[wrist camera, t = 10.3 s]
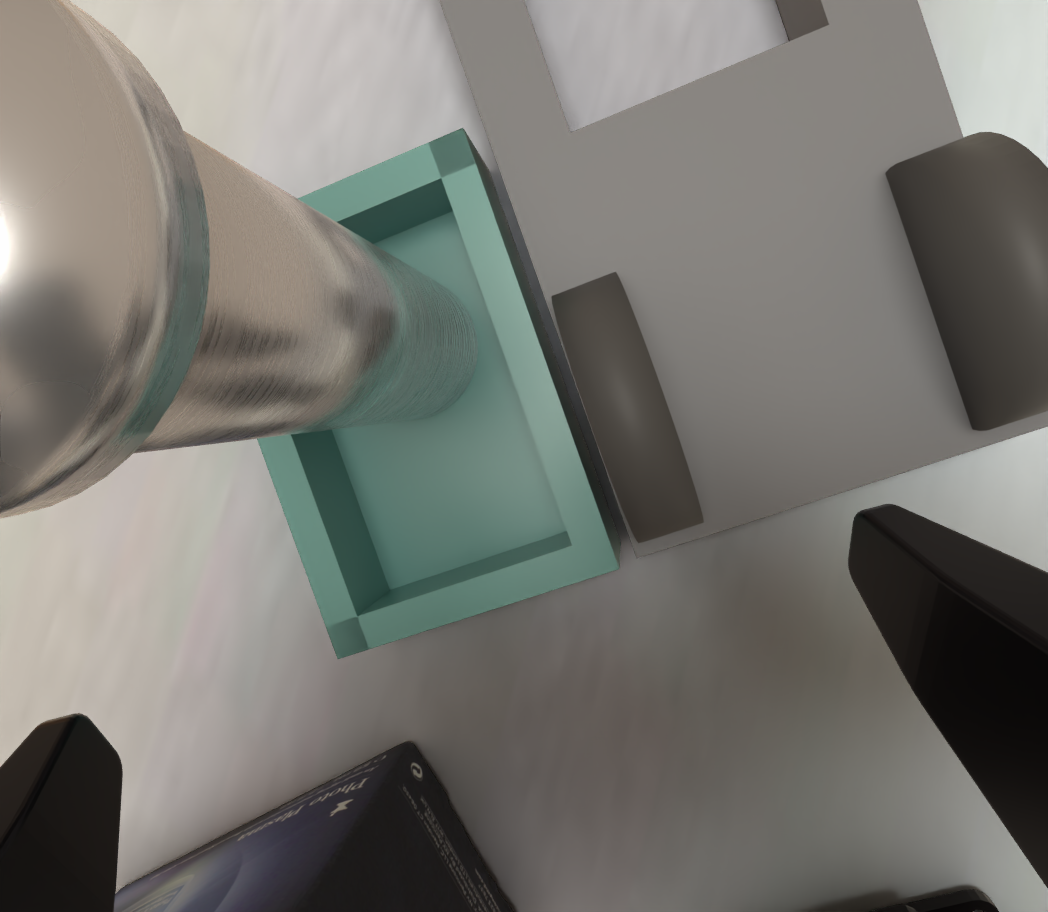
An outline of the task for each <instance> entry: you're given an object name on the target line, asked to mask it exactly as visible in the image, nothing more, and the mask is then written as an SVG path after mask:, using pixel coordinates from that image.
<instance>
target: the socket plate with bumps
mask: <svg viewBox="0 0 1048 912" xmlns="http://www.w3.org/2000/svg"><path fill="white" fill-rule="evenodd" d="M439 1H440V3H441V6H442V9H443V12H444V15H445V18H446V20H447V23H448V26H449V29H450V32H451V35H452V37H453V40H454V43H455V46H456V49H457V52H458V54H459V57H460V60H461V63H462V66H463V68H464V71H465V74H466V77H467V80H468V83H469V85H470V88H471V91H472V94H473V97H474V100H475V102H476V105H477V108H478V111H479V114H480V117H481V119H482V122H483V125H484V128H485V131H486V134H487V136H488V139H489V142H490V145H491V148H492V150H493V153H494V156H495V159H496V162H497V165H498V167H499V170H500V173H501V176H502V179H503V182H504V184H505V187H506V190H507V193H508V196H509V199H510V201H511V204H512V207H513V210H514V213H515V216H516V218H517V221H518V224H519V227H520V230H521V233H522V235H523V238H524V241H525V244H526V247H527V249H528V252H529V255H530V258H531V261H532V264H533V266H534V269H535V272H536V275H537V278H538V281H539V283H540V286H541V289H542V292H543V295H544V298H545V300H546V303H547V306H548V309H549V312H550V315H551V317H552V320H553V323H554V326H555V329H556V331H557V334H558V337H559V340H560V343H561V346H562V348H563V351H564V354H565V357H566V360H567V363H568V365H569V368H570V371H571V374H572V377H573V380H574V382H575V385H576V388H577V391H578V394H579V397H580V399H581V402H582V405H583V408H584V411H585V413H586V416H587V419H588V422H589V425H590V428H591V430H592V433H593V436H594V439H595V442H596V445H597V447H598V450H599V453H600V456H601V459H602V462H603V464H604V467H605V470H606V473H607V476H608V479H609V481H610V484H611V487H612V490H613V493H614V495H615V498H616V501H617V504H618V507H619V510H620V512H621V515H622V518H623V521H624V524H625V527H626V529H627V532H628V535H629V538H630V541H631V544H632V546H633V549H634V552H635V555H636V558H640V557H643V556H646V555H649V554H652V553H655V552H658V551H662V550H665V549H668V548H671V547H674V546H677V545H680V544H683V543H686V542H690V541H693V540H696V539H699V538H702V537H705V536H708V535H711V534H714V533H718V532H721V531H724V530H727V529H730V528H733V527H736V526H739V525H742V524H746V523H749V522H752V521H755V520H758V519H761V518H764V517H767V516H770V515H774V514H777V513H780V512H783V511H786V510H789V509H792V508H795V507H798V506H801V505H805V504H808V503H811V502H814V501H817V500H820V499H823V498H826V497H829V496H833V495H836V494H839V493H842V492H845V491H848V490H851V489H854V488H857V487H861V486H864V485H867V484H870V483H873V482H876V481H879V480H882V479H885V478H889V477H892V476H895V475H898V474H901V473H904V472H907V471H910V470H913V469H917V468H920V467H923V466H926V465H929V464H932V463H935V462H938V461H941V460H945V459H948V458H951V457H954V456H957V455H960V454H963V453H966V452H969V451H973V450H976V449H979V448H982V447H985V446H988V445H991V444H994V443H997V442H1001V441H1004V440H1007V439H1010V438H1013V437H1016V436H1019V435H1022V434H1025V433H1028V432H1032V431H1035V430H1038V429H1041V428H1044V427H1047V426H1048V168H1047V167H1046V166H1045V165H1044V164H1043V162H1042V161H1041V160H1040V159H1039V158H1038V157H1037V156H1036V155H1034V154H1033V153H1032V152H1031V151H1030V150H1029V149H1027V148H1026V147H1025V146H1023V145H1022V144H1020V143H1018V142H1017V141H1015V140H1014V139H1011V138H1009V137H1007V136H1004V135H1002V134H997V133H992V132H979V133H976V134H973V135H969V136H967V137H964V138H963V135H962V132H961V129H960V126H959V123H958V120H957V117H956V114H955V111H954V108H953V105H952V102H951V99H950V96H949V93H948V90H947V87H946V84H945V81H944V78H943V75H942V72H941V69H940V66H939V63H938V60H937V57H936V54H935V52H934V49H933V46H932V43H931V40H930V37H929V34H928V31H927V28H926V25H925V22H924V19H923V16H922V13H921V10H920V7H919V4H918V1H917V0H776V3H777V6H778V9H779V11H780V14H781V17H782V20H783V23H784V26H785V29H786V32H787V35H788V38H789V42H787V43H784V44H782V45H779V46H777V47H775V48H772V49H770V50H767V51H765V52H763V53H760V54H758V55H755V56H753V57H751V58H748V59H746V60H744V61H741V62H739V63H736V64H734V65H732V66H729V67H727V68H724V69H722V70H720V71H717V72H715V73H712V74H710V75H708V76H705V77H703V78H700V79H698V80H696V81H693V82H691V83H688V84H686V85H684V86H681V87H679V88H677V89H674V90H672V91H669V92H667V93H665V94H662V95H660V96H657V97H655V98H653V99H650V100H648V101H645V102H643V103H641V104H638V105H636V106H633V107H631V108H629V109H626V110H624V111H622V112H619V113H617V114H614V115H612V116H610V117H607V118H605V119H602V120H600V121H598V122H595V123H593V124H590V125H588V126H586V127H583V128H581V129H578V130H576V131H574V132H571V133H570V130H569V128H568V125H567V122H566V119H565V116H564V113H563V111H562V108H561V105H560V102H559V99H558V96H557V93H556V91H555V88H554V85H553V82H552V79H551V76H550V73H549V71H548V68H547V65H546V62H545V59H544V56H543V53H542V51H541V48H540V45H539V42H538V39H537V36H536V33H535V31H534V28H533V25H532V22H531V19H530V16H529V14H528V11H527V8H526V5H525V2H524V0H439Z"/></svg>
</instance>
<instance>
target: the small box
mask: <svg viewBox="0 0 1048 912" xmlns="http://www.w3.org/2000/svg"><path fill="white" fill-rule="evenodd" d="M114 912H513V911H512V909H511V908H510V907H509V905H508V903H507V902H506V901H505V900H504V899H503V898H502V896H501V895H500V893H499V891H498V890H497V884H496V883H495V882H494V881H493V880H492V879H491V877H490V875H489V874H488V872H487V870H486V868H485V867H484V865H483V863H482V861H481V860H480V858H479V856H478V854H477V852H476V851H475V849H474V848H473V846H472V844H471V842H470V840H469V839H468V837H467V835H466V833H465V831H464V829H463V826H462V825H461V823H460V822H459V820H458V819H457V817H456V815H455V814H454V812H453V810H452V808H451V806H450V805H449V803H448V797H447V794H446V792H445V791H444V790H443V789H442V787H441V785H440V784H439V782H438V781H437V780H436V778H435V776H434V775H433V773H432V772H431V771H430V769H429V767H428V765H427V764H426V763H425V762H424V760H423V759H422V757H421V755H420V753H419V751H418V750H417V748H416V747H415V745H414V744H413V743H411V742H406V743H403V744H401V745H399V746H397V747H394V748H392V749H390V750H388V751H386V752H385V753H383V754H381V755H379V756H377V757H375V758H373V759H371V760H369V761H367V762H365V763H363V764H361V765H359V766H358V767H356V768H354V769H352V770H350V771H348V772H346V773H344V774H342V775H340V776H338V777H336V778H335V779H333V780H331V781H329V782H327V783H325V784H323V785H321V786H319V787H317V788H315V789H313V790H311V791H309V792H307V793H305V794H303V795H301V796H299V797H297V798H295V799H294V800H292V801H290V802H288V803H286V804H284V805H282V806H280V807H278V808H276V809H274V810H272V811H270V812H268V813H266V814H264V815H262V816H261V817H259V818H257V819H255V820H253V821H251V822H249V823H247V824H245V825H243V826H241V827H239V828H237V829H235V830H233V831H231V832H229V833H228V834H225V835H223V836H222V837H220V838H218V839H216V840H214V841H212V842H210V843H208V844H206V845H204V846H202V847H200V848H199V849H197V850H195V851H193V852H191V853H189V854H187V855H185V856H183V857H181V858H179V859H177V860H175V861H173V862H171V863H169V864H167V865H165V866H163V867H161V868H159V869H158V870H156V871H154V872H152V873H150V874H148V875H147V876H145V877H143V878H141V879H138V880H136V881H135V882H133V883H131V884H129V885H127V886H125V887H123V888H121V889H120V890H119V891H118V892H117V893H116V894H115V902H114Z"/></svg>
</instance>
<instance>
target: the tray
mask: <svg viewBox="0 0 1048 912" xmlns="http://www.w3.org/2000/svg"><path fill="white" fill-rule="evenodd" d="M298 199H299V200H300V201H302V202H304V203H305V204H307V205H309V206H310V207H312V208H314V209H315V210H317V211H319V212H320V213H322V214H324V215H325V216H327V217H329V218H330V219H332V220H334V221H335V222H337V223H339V224H340V225H342V226H344V227H345V228H347V229H349V230H350V231H352V232H354V233H355V234H357V235H359V236H360V237H362V238H364V239H365V240H367V241H369V242H370V243H372V244H374V245H375V246H377V247H379V248H381V249H382V250H384V251H386V252H387V253H389V254H391V255H392V256H394V257H396V258H397V259H399V260H401V261H402V262H404V263H406V264H407V265H409V266H411V267H412V268H414V269H416V270H417V271H419V272H421V273H422V274H424V275H426V276H427V277H429V278H431V279H432V280H434V281H436V282H437V283H439V284H441V285H442V286H444V287H446V288H447V289H448V290H450V291H451V292H452V293H454V294H455V295H456V296H457V298H458V299H459V300H460V301H461V302H462V303H463V305H464V306H465V307H466V309H467V311H468V313H469V314H470V316H471V319H472V321H473V323H474V327H475V330H476V334H477V342H478V355H477V363H476V366H475V370H474V373H473V376H472V378H471V381H470V382H469V384H468V386H467V388H466V389H465V391H464V392H463V393H462V395H461V396H460V397H459V398H458V399H457V400H456V401H455V402H454V403H453V404H452V405H450V406H449V407H448V408H446V409H445V410H443V411H441V412H440V413H438V414H435V415H433V416H430V417H427V418H423V419H417V420H409V421H400V422H392V423H384V424H375V425H367V426H358V427H350V428H342V429H333V430H325V431H316V432H308V433H300V434H291V435H283V436H274V437H266V438H258V439H257V440H258V443H259V445H260V448H261V451H262V454H263V456H264V459H265V462H266V464H267V467H268V470H269V473H270V475H271V478H272V481H273V484H274V486H275V489H276V492H277V495H278V497H279V500H280V503H281V505H282V508H283V511H284V514H285V516H286V519H287V522H288V525H289V527H290V530H291V533H292V535H293V538H294V541H295V544H296V546H297V549H298V552H299V555H300V557H301V560H302V563H303V566H304V568H305V571H306V574H307V576H308V579H309V582H310V585H311V587H312V590H313V593H314V596H315V598H316V601H317V604H318V607H319V609H320V612H321V615H322V617H323V620H324V623H325V626H326V628H327V631H328V634H329V637H330V639H331V642H332V645H333V648H334V650H335V653H336V656H337V658H338V659H340V658H343V657H346V656H350V655H353V654H356V653H359V652H362V651H365V650H368V649H371V648H374V647H378V646H381V645H384V644H387V643H390V642H393V641H396V640H399V639H403V638H406V637H409V636H412V635H415V634H418V633H421V632H424V631H428V630H431V629H434V628H437V627H440V626H443V625H446V624H449V623H452V622H456V621H459V620H462V619H465V618H468V617H471V616H474V615H477V614H481V613H484V612H487V611H490V610H493V609H496V608H499V607H502V606H505V605H509V604H512V603H515V602H518V601H521V600H524V599H527V598H530V597H534V596H537V595H540V594H543V593H546V592H549V591H552V590H555V589H559V588H562V587H565V586H568V585H571V584H574V583H577V582H580V581H583V580H587V579H590V578H593V577H596V576H599V575H602V574H605V573H608V572H612V571H615V570H618V569H619V566H620V548H621V542H620V539H619V536H618V534H617V531H616V528H615V525H614V522H613V519H612V517H611V514H610V511H609V508H608V505H607V502H606V500H605V497H604V494H603V491H602V488H601V485H600V483H599V480H598V477H597V474H596V471H595V469H594V466H593V463H592V460H591V457H590V454H589V452H588V449H587V446H586V443H585V440H584V437H583V435H582V432H581V429H580V426H579V423H578V421H577V418H576V415H575V412H574V409H573V406H572V404H571V401H570V398H569V395H568V392H567V389H566V387H565V384H564V381H563V378H562V375H561V372H560V370H559V367H558V364H557V361H556V358H555V356H554V353H553V350H552V347H551V344H550V341H549V339H548V336H547V333H546V330H545V327H544V324H543V322H542V319H541V316H540V313H539V310H538V308H537V305H536V302H535V299H534V296H533V293H532V291H531V288H530V285H529V282H528V279H527V276H526V274H525V271H524V268H523V265H522V262H521V260H520V257H519V254H518V251H517V248H516V245H515V243H514V240H513V237H512V234H511V231H510V228H509V226H508V223H507V220H506V217H505V214H504V211H503V209H502V206H501V203H500V200H499V197H498V195H497V192H496V189H495V186H494V183H493V180H492V178H491V175H490V172H489V169H488V168H487V166H486V164H485V163H484V161H483V160H482V158H481V156H480V155H479V153H478V151H477V150H476V148H475V147H474V145H473V143H472V142H471V140H470V138H469V137H468V135H467V134H466V132H465V130H464V129H463V128H461V129H459V130H457V131H454V132H452V133H450V134H447V135H445V136H443V137H440V138H438V139H436V140H433V141H431V142H429V143H426V144H424V145H422V146H419V147H417V148H415V149H412V150H410V151H408V152H405V153H403V154H401V155H398V156H396V157H394V158H391V159H389V160H387V161H384V162H382V163H380V164H377V165H375V166H373V167H370V168H368V169H366V170H363V171H361V172H359V173H356V174H354V175H352V176H349V177H347V178H345V179H342V180H340V181H338V182H335V183H333V184H331V185H328V186H326V187H324V188H321V189H319V190H317V191H314V192H312V193H310V194H308V195H305V196H303V197H301V198H298Z"/></svg>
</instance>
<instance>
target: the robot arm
mask: <svg viewBox="0 0 1048 912" xmlns="http://www.w3.org/2000/svg"><path fill="white" fill-rule="evenodd" d="M848 566H849V571H850V575H851V577H852V580H853V582H854V584H855V586H856V588H857V589H858V591H859V593H860V595H861V597H862V599H863V601H864V602H865V604H866V606H867V608H868V610H869V612H870V614H871V615H872V617H873V619H874V621H875V623H876V625H877V627H878V628H879V630H880V632H881V634H882V636H883V638H884V640H885V641H886V643H887V645H888V647H889V649H890V651H891V653H892V654H893V656H894V658H895V660H896V662H897V664H898V666H899V667H900V669H901V671H902V673H903V675H904V676H905V678H906V680H907V682H908V683H909V685H910V687H911V689H912V690H913V692H914V693H915V695H916V697H917V698H918V700H919V701H920V703H921V704H922V706H923V707H924V709H925V710H926V712H927V713H928V715H929V716H930V718H931V719H932V721H933V722H934V723H935V725H936V726H937V728H938V729H939V731H940V732H941V734H942V735H943V737H944V738H945V739H946V741H947V742H948V744H949V745H950V747H951V748H952V750H953V751H954V753H955V754H956V755H957V757H958V758H959V760H960V761H961V763H962V764H963V766H964V767H965V769H966V770H967V772H968V773H969V774H970V776H971V777H972V779H973V780H974V782H975V783H976V785H977V786H978V788H979V789H980V790H981V792H982V793H983V795H984V796H985V798H986V799H987V801H988V802H989V804H990V805H991V807H992V808H993V809H994V811H995V812H996V814H997V815H998V817H999V818H1000V820H1001V821H1002V823H1003V824H1004V825H1005V827H1006V828H1007V830H1008V831H1009V833H1010V834H1011V836H1012V837H1013V839H1014V840H1015V841H1016V843H1017V844H1018V846H1019V847H1020V849H1021V850H1022V852H1023V853H1024V855H1025V856H1026V858H1027V859H1028V860H1029V862H1030V863H1031V865H1032V866H1033V868H1034V869H1035V871H1036V872H1037V874H1038V875H1039V876H1040V878H1041V879H1042V881H1043V882H1044V884H1045V885H1046V887H1047V888H1048V572H1046V571H1043V570H1041V569H1039V568H1037V567H1034V566H1032V565H1030V564H1028V563H1025V562H1023V561H1021V560H1019V559H1016V558H1014V557H1012V556H1010V555H1007V554H1005V553H1003V552H1001V551H998V550H996V549H994V548H992V547H989V546H987V545H985V544H983V543H980V542H978V541H976V540H974V539H971V538H969V537H967V536H965V535H962V534H960V533H958V532H956V531H953V530H951V529H949V528H946V527H944V526H942V525H940V524H937V523H935V522H933V521H931V520H928V519H926V518H924V517H922V516H919V515H917V514H915V513H913V512H910V511H908V510H906V509H904V508H901V507H899V506H896V505H893V504H885V505H881V506H877V507H873V508H869V509H865V510H861V511H860V512H858V513H857V514H856V516H855V517H854V521H853V527H852V534H851V542H850V549H849V557H848ZM122 777H123V771H122V764H121V760H120V757H119V755H118V753H117V752H116V750H115V749H114V748H113V747H112V745H111V744H110V743H109V742H108V741H107V739H106V738H105V737H104V736H103V734H102V733H101V732H100V731H99V730H98V728H97V727H96V726H95V725H94V724H93V722H92V721H91V720H90V719H89V718H88V717H87V716H85V715H83V714H80V713H78V714H71V715H67V716H63V717H59V718H56V719H52V720H48V721H45V722H43V723H41V724H40V725H38V726H37V727H36V728H35V729H34V730H33V731H32V732H31V733H30V734H29V736H28V737H27V738H26V739H25V740H24V741H23V742H22V743H21V745H20V746H19V747H18V748H17V749H16V750H15V751H14V752H13V754H12V755H11V756H10V757H9V758H8V759H7V760H6V761H5V763H4V764H3V765H2V766H1V767H0V912H114V902H115V891H116V876H117V860H118V843H119V827H120V810H121V794H122ZM975 910H983V912H999V911H998V909H997V908H996V906H995V905H994V904H993V902H992V901H991V899H990V898H989V897H988V896H987V895H985V894H984V893H983V892H981V891H977V890H974V889H973V890H963V891H959V892H954V893H950V894H946V895H942V896H937V897H933V898H929V899H925V900H920V901H916V902H912V903H908V904H899V905H894V906H890V907H886V908H882V909H877V910H873V911H869V912H973V911H975Z"/></svg>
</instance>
